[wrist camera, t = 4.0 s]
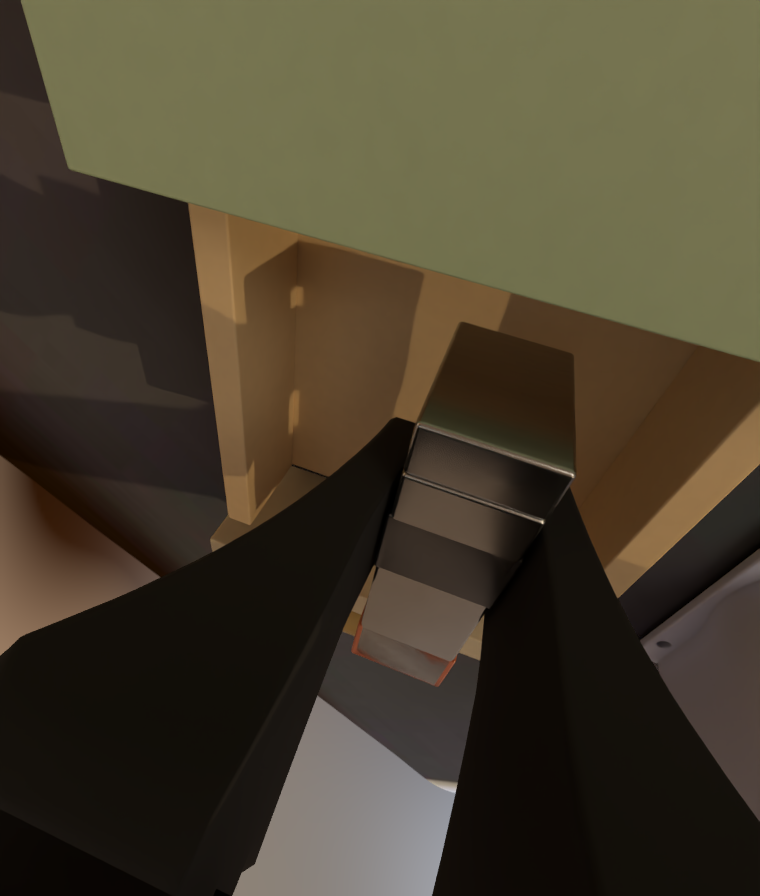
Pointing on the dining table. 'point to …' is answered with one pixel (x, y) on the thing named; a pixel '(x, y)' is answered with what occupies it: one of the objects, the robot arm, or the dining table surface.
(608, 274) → the cabinet
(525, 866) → the robot arm
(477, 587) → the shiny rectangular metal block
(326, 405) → the drawer
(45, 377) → the dining table surface
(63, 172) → the dining table surface
